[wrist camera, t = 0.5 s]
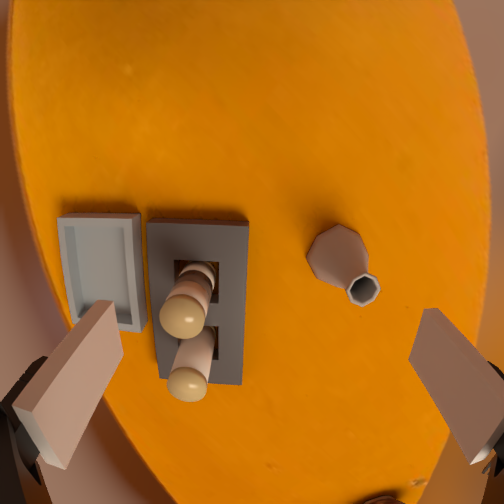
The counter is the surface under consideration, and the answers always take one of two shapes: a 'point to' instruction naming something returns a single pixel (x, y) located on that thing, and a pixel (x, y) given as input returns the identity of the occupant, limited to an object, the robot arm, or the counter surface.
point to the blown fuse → (189, 300)
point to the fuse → (192, 366)
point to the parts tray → (104, 265)
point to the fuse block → (221, 305)
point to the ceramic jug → (384, 500)
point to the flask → (344, 264)
